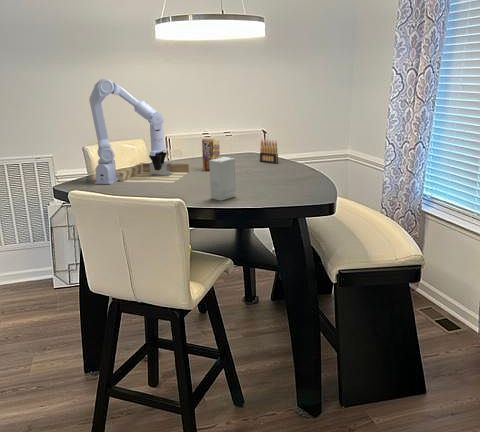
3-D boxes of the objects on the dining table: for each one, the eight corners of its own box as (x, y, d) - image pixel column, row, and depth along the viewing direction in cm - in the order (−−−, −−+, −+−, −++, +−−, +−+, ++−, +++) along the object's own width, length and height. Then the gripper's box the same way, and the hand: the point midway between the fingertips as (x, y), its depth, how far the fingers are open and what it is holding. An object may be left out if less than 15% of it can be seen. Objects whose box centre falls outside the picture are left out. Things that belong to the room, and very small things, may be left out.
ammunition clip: (259, 162, 265) (259, 139, 262) (261, 161, 267) (261, 138, 263) (276, 164, 259) (276, 140, 255) (278, 163, 260) (278, 140, 257)
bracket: (149, 173, 232) (149, 163, 231) (153, 171, 237) (154, 161, 236) (166, 175, 231) (166, 164, 229) (170, 173, 236) (170, 162, 234)
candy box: (221, 171, 242) (219, 139, 238) (213, 173, 239) (212, 140, 235) (209, 169, 249) (208, 138, 244) (202, 170, 246) (201, 139, 242)
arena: (173, 184, 216) (172, 173, 215) (120, 183, 221) (119, 172, 220) (189, 173, 239) (188, 163, 238) (141, 172, 244) (140, 163, 243)
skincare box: (225, 194, 196) (224, 156, 192) (236, 196, 192) (235, 157, 188) (209, 198, 190) (208, 159, 186) (221, 201, 186) (219, 161, 182)
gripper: (159, 141, 221) (161, 172, 224) (170, 137, 234) (172, 166, 238) (144, 141, 222) (146, 172, 226) (156, 137, 236) (158, 166, 239)
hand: (159, 169), depth 232 cm, fingers open, 4 cm apart
